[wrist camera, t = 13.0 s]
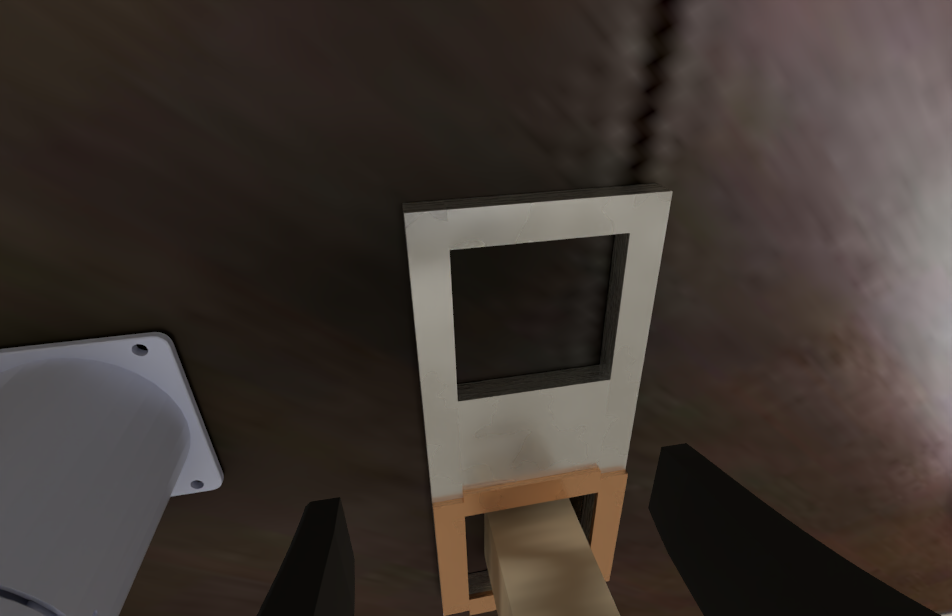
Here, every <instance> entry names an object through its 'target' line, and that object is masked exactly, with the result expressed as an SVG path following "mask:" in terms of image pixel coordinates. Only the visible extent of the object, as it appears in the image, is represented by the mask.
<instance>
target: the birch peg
mask: <svg viewBox="0 0 952 616" xmlns="http://www.w3.org/2000/svg"><path fill="white" fill-rule="evenodd" d="M484 556H485V560H486V564H487V569H488V573H489V578H490V582H491V586H492V591H493V595H494V600H495V604H496V609H497V613H498V616H620V614H619V612H618V610H617V607H616V605H615V603H614V600H613V598H612V596H611V594H610V591H609V589H608V587H607V584H606V582H605V580H604V578H603V575H602V573H601V571H600V568H599V566H598V564H597V562H596V559H595V557H594V555H593V553H592V550H591V548H590V546H589V543H588V541H587V539H586V537H585V534H584V532H583V530H582V527H581V525H580V523H579V521H578V518H577V516H576V514H575V511H574V509H573V507H572V505H571V502H570V500H569V498H565V499H559V500H554V501H548V502H543V503H537V504H532V505H526V506H520V507H515V508H509V509H504V510H498V511H493V512H487V513H484Z"/></svg>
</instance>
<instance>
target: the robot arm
mask: <svg viewBox="0 0 952 616" xmlns="http://www.w3.org/2000/svg"><path fill="white" fill-rule="evenodd" d="M136 344H142V345H144V346H146V347H147V349H148V350H141V349H139V348H138V347H137V345H136ZM223 479H224V474H223V472H222V469H221V467H220V464H219V461H218V459H217V456H216V454H215V451H214V448H213V446H212V443H211V440H210V438H209V435H208V433H207V430H206V427H205V425H204V422H203V420H202V417H201V414H200V412H199V409H198V406H197V404H196V401H195V399H194V396H193V393H192V391H191V388H190V386H189V383H188V380H187V378H186V375H185V372H184V370H183V367H182V365H181V362H180V359H179V357H178V354H177V352H176V349H175V346H174V344H173V341H172V340H171V338H170V337H169V336H167V335H166V334H163V333H160V332H149V333H140V334H131V335H122V336H113V337H104V338H95V339H86V340H77V341H68V342H59V343H50V344H41V345H32V346H23V347H14V348H5V349H0V616H119V613H120V611H121V609H122V607H123V604H124V602H125V600H126V597H127V595H128V593H129V590H130V588H131V586H132V583H133V581H134V579H135V577H136V574H137V572H138V570H139V567H140V565H141V563H142V560H143V558H144V556H145V554H146V551H147V549H148V547H149V544H150V542H151V540H152V537H153V535H154V533H155V531H156V528H157V526H158V524H159V521H160V519H161V517H162V514H163V512H164V510H165V508H166V505H167V503H168V501H169V498H170V497H171V496H178V495H184V494H190V493H196V492H203V491H209V490H214V489H217V488H219V487H220V486H221V484H222V482H223ZM195 480H199V481H202V482H197V481H195ZM648 508H649V510H650V513H651V515H652V518H653V520H654V522H655V525H656V527H657V530H658V532H659V534H660V536H661V539H662V541H663V543H664V545H665V547H666V550H667V552H668V554H669V556H670V557H671V559H672V561H673V563H674V564H675V566H676V568H677V570H678V571H679V573H680V575H681V577H682V578H683V580H684V582H685V584H686V585H687V587H688V589H689V591H690V592H691V594H692V596H693V598H694V599H695V601H696V603H697V604H698V606H699V608H700V610H701V611H702V613H703V615H704V616H941V615H939V614H937V613H935V612H934V611H932V610H930V609H928V608H926V607H925V606H923V605H921V604H919V603H918V602H916V601H914V600H912V599H910V598H909V597H907V596H905V595H904V594H902V593H900V592H899V591H897V590H895V589H894V588H892V587H890V586H889V585H887V584H885V583H884V582H882V581H880V580H879V579H877V578H875V577H874V576H872V575H870V574H869V573H867V572H865V571H864V570H862V569H861V568H859V567H857V566H856V565H854V564H853V563H851V562H850V561H848V560H846V559H845V558H843V557H842V556H840V555H839V554H837V553H836V552H834V551H833V550H831V549H830V548H828V547H827V546H825V545H824V544H822V543H821V542H819V541H818V540H816V539H815V538H813V537H812V536H810V535H809V534H808V533H806V532H805V531H803V530H802V529H800V528H799V527H798V526H796V525H795V524H793V523H792V522H790V521H789V520H788V519H786V518H785V517H783V516H782V515H781V514H779V513H778V512H777V511H775V510H774V509H772V508H771V507H770V506H768V505H767V504H766V503H764V502H763V501H762V500H760V499H759V498H758V497H756V496H755V495H754V494H752V493H751V492H750V491H748V490H747V489H746V488H744V487H743V486H742V485H740V484H739V483H738V482H736V481H735V480H734V479H733V478H731V477H730V476H729V475H727V474H726V473H725V472H723V471H722V470H721V469H720V468H718V467H717V466H716V465H714V464H713V463H712V462H710V461H709V460H708V459H706V458H705V457H704V456H703V455H701V454H700V453H699V452H697V451H696V450H695V449H693V448H692V447H691V446H689V445H688V444H686V443H685V444H679V445H672V446H666V447H661V452H660V457H659V461H658V466H657V470H656V475H655V480H654V484H653V489H652V493H651V498H650V503H649V507H648ZM354 596H355V575H354V555H353V551H352V546H351V542H350V537H349V533H348V529H347V524H346V520H345V516H344V511H343V507H342V503H341V498H340V497H339V498H332V499H326V500H319V501H313V502H310V503H309V504H308V505H307V506H306V507H305V510H304V512H303V515H302V518H301V520H300V523H299V525H298V528H297V530H296V533H295V535H294V538H293V540H292V542H291V545H290V547H289V549H288V552H287V554H286V556H285V558H284V560H283V563H282V565H281V567H280V569H279V571H278V574H277V576H276V578H275V580H274V582H273V584H272V586H271V588H270V590H269V592H268V594H267V596H266V598H265V600H264V602H263V604H262V606H261V608H260V610H259V612H258V614H257V616H354Z"/></svg>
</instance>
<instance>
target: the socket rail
mask: <svg viewBox="0 0 952 616" xmlns="http://www.w3.org/2000/svg"><path fill="white" fill-rule="evenodd" d="M672 192H673V191H671V190H669V189H667V188H665V187H663V186H661V185H659V184H657V183H652V184H640V185H627V186H614V187H602V188H589V189H576V190H564V191H551V192H538V193H526V194H513V195H501V196H488V197H475V198H463V199H450V200H437V201H425V202H412V203H402V209H403V219H404V229H405V239H406V249H407V259H408V269H409V280H410V290H411V300H412V310H413V320H414V330H415V340H416V350H417V360H418V370H419V380H420V390H421V400H422V410H423V420H424V431H425V441H426V451H427V461H428V471H429V481H430V491H431V501H432V511H433V521H434V531H435V541H436V551H437V561H438V572H439V582H440V592H441V600H442V608H443V615H444V616H445V615H450V614H455V613H460V612H464V611H469V613H470V615H474V614H479V613H483V612H488V611H493V610H497V609H496V604H495V600H494V595H493V591H492V586H491V582H490V578H489V573H488V570H487V571H482V572H477V573H472V574H468V569H467V550H466V531H465V516H471V515H476V514H482V513H487V512H493V511H498V510H504V509H509V508H515V507H520V506H526V505H532V504H537V503H543V502H548V501H554V500H559V499H565V498H570V497H576V496H581V495H584V501H583V510H582V518H581V527H582V530H583V532H584V534H585V537H586V539H587V541H588V543H589V546H590V548H591V550H592V553H593V555H594V557H595V559H596V562H597V564H598V566H599V568H600V571H601V573H602V575H603V578H604V580H605V582H606V581H609V579H610V573H611V567H612V562H613V556H614V550H615V545H616V539H617V533H618V527H619V522H620V516H621V510H622V505H623V499H624V493H625V487H626V482H627V476H628V473H627V472H626V470H625V468H626V462H627V456H628V450H629V444H630V438H631V432H632V427H633V421H634V415H635V409H636V403H637V397H638V391H639V385H640V380H641V374H642V368H643V362H644V356H645V350H646V344H647V338H648V333H649V327H650V321H651V315H652V309H653V303H654V297H655V291H656V286H657V280H658V274H659V268H660V262H661V256H662V250H663V244H664V239H665V233H666V227H667V221H668V215H669V209H670V203H671V197H672ZM613 234H615V239H614V247H613V256H612V264H611V273H610V281H609V290H608V298H607V307H606V315H605V324H604V332H603V340H602V349H601V357H600V365H593V366H586V367H579V368H572V369H564V370H557V371H550V372H543V373H536V374H528V375H521V376H514V377H507V378H499V379H492V380H485V381H478V382H471V383H463V384H457V378H456V359H455V341H454V322H453V304H452V285H451V267H450V250H455V249H466V248H476V247H487V246H497V245H508V244H518V243H529V242H539V241H550V240H560V239H571V238H581V237H592V236H602V235H613Z"/></svg>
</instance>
